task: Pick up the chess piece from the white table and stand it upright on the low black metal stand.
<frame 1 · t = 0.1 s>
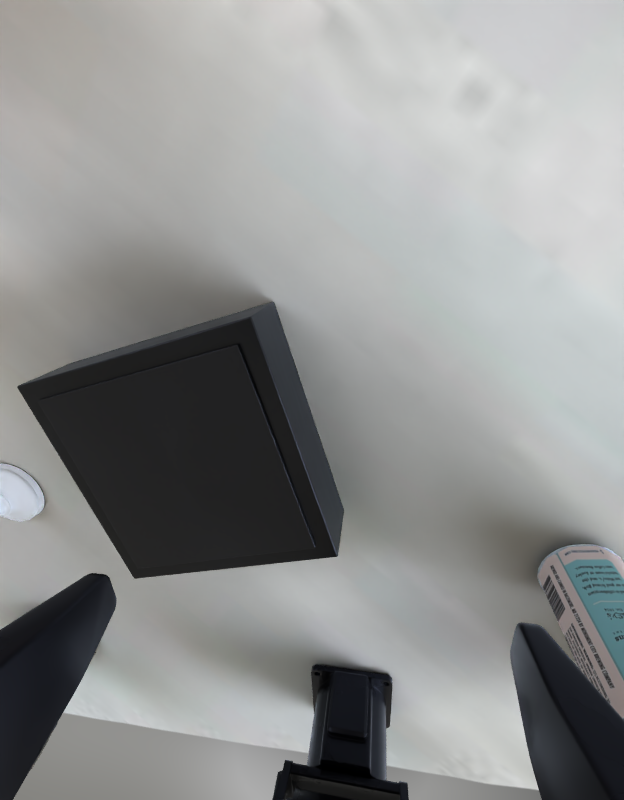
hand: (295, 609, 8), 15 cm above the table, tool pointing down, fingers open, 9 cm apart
stand: (210, 438, 25), on the table
chess piece: (17, 489, 30), on the table
white supplement bottle: (575, 565, 24), on the table
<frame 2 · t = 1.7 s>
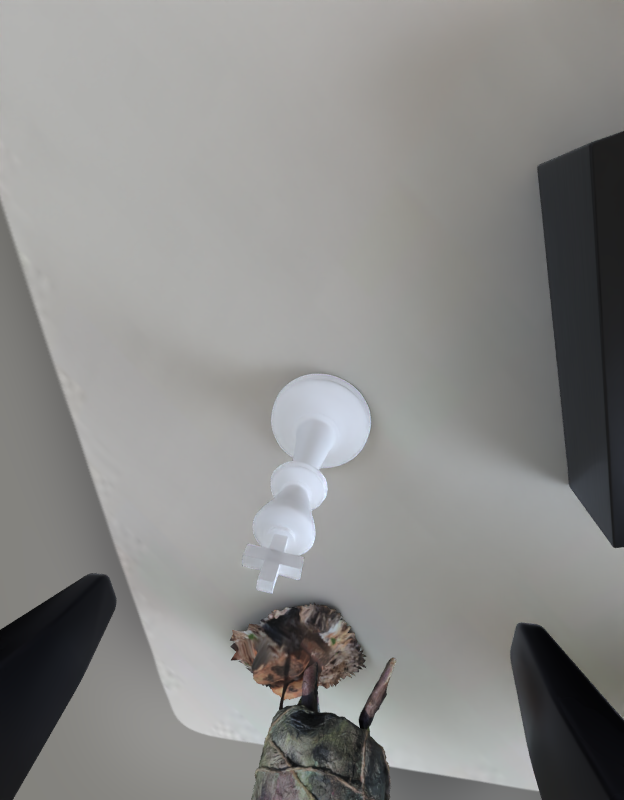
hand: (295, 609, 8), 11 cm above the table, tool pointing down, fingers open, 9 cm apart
plant with pod: (313, 638, 26), on the table
chess piece: (321, 418, 20), on the table
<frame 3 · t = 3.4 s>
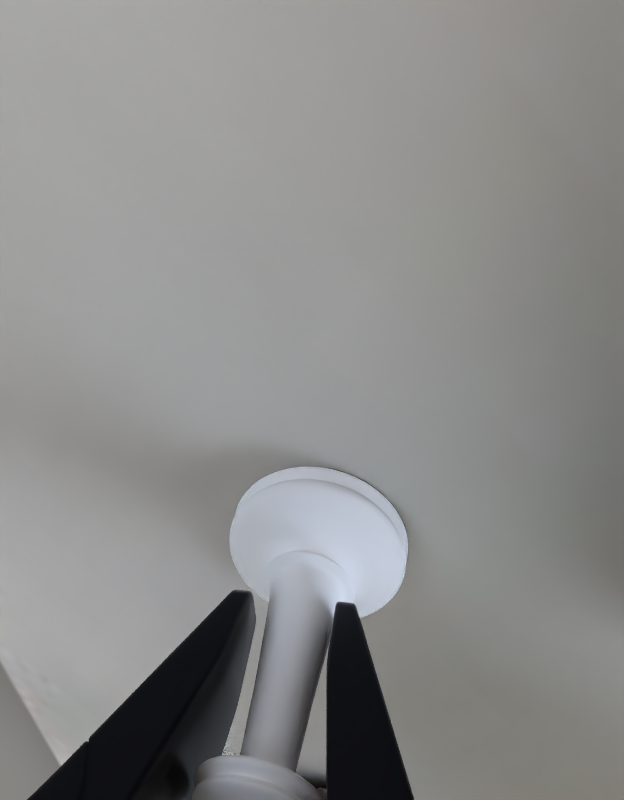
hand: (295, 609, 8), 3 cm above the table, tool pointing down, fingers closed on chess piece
chess piece: (319, 534, 11), on the table, touching gripper
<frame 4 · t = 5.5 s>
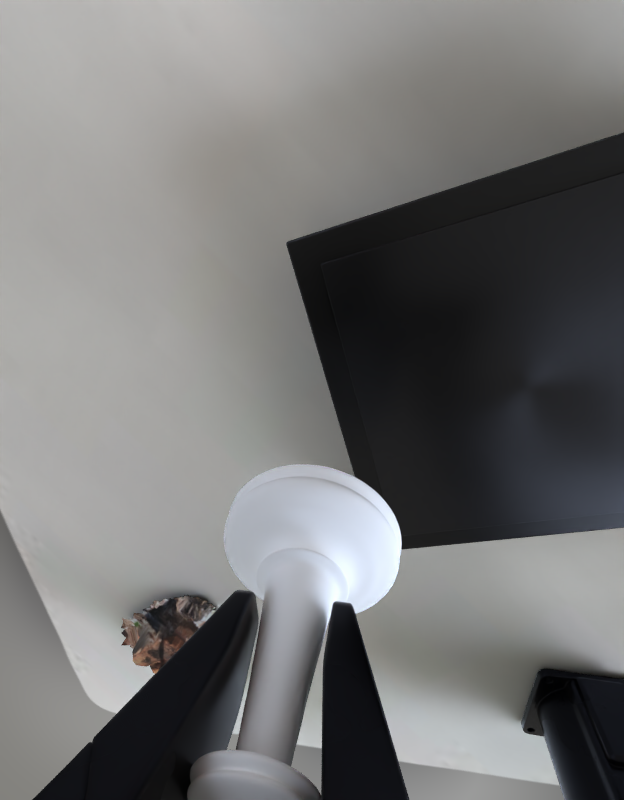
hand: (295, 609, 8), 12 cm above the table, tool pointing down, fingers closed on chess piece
stand: (496, 352, 17), on the table
plant with pod: (195, 626, 29), on the table
chess piece: (313, 532, 11), point 9 cm above the table, touching gripper
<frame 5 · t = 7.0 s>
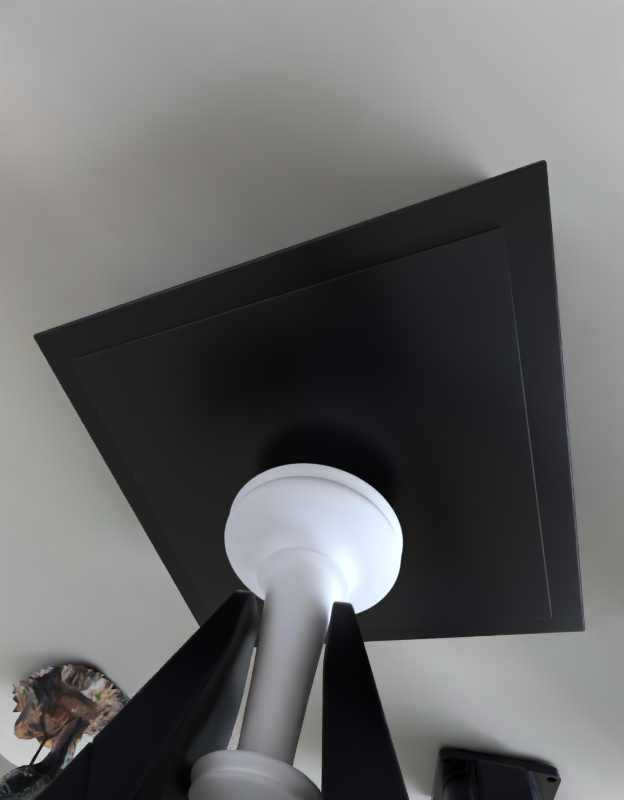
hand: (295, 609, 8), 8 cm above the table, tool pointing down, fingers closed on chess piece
stand: (335, 430, 16), on the table
plant with pod: (90, 691, 28), on the table
chess piece: (314, 531, 11), point 5 cm above the table, touching gripper
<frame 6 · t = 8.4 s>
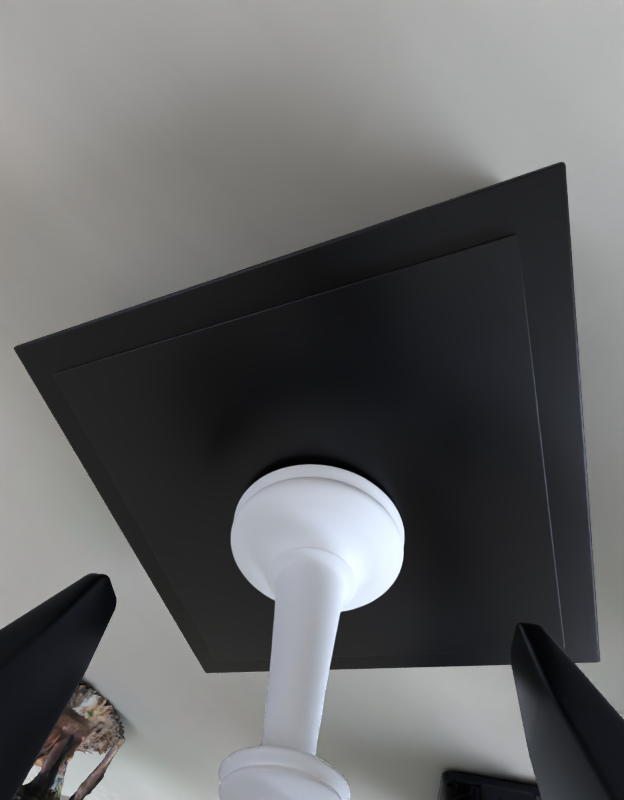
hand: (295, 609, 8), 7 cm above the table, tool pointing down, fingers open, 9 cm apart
stand: (334, 444, 15), on the table
plant with pod: (83, 707, 27), on the table
chess piece: (318, 529, 11), point 4 cm above the table, touching stand
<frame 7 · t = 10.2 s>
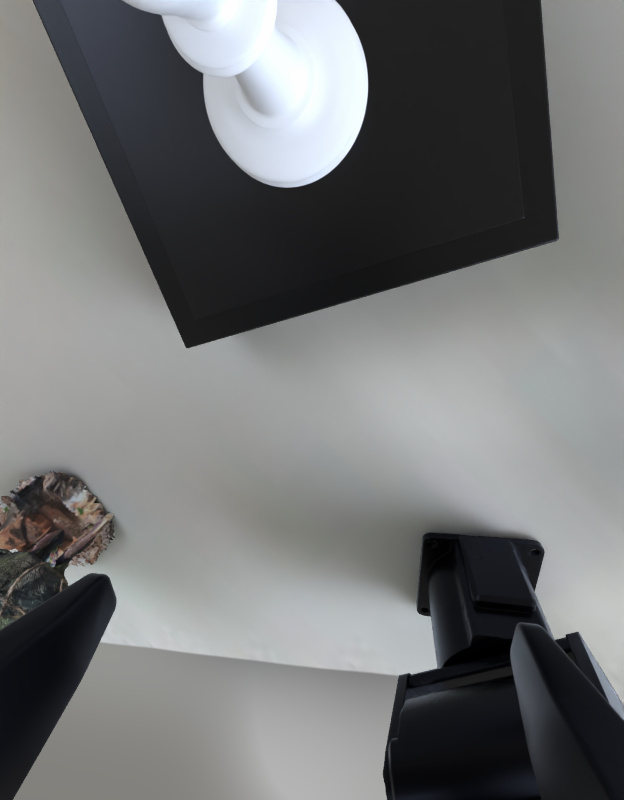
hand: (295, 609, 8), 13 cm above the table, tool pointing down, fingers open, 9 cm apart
stand: (309, 111, 15), on the table
plant with pod: (74, 515, 27), on the table
chess piece: (287, 97, 12), point 4 cm above the table, touching stand
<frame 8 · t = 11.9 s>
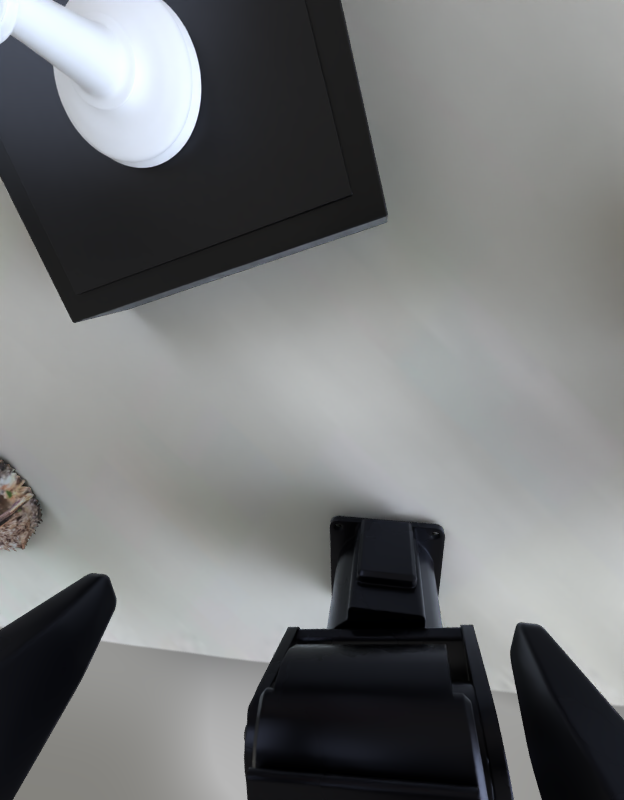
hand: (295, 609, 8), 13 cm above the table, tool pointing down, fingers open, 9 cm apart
stand: (189, 106, 17), on the table
plant with pod: (6, 499, 28), on the table
chess piece: (136, 86, 13), point 4 cm above the table, touching stand
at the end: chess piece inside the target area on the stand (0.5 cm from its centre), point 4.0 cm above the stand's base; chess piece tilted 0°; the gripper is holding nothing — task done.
